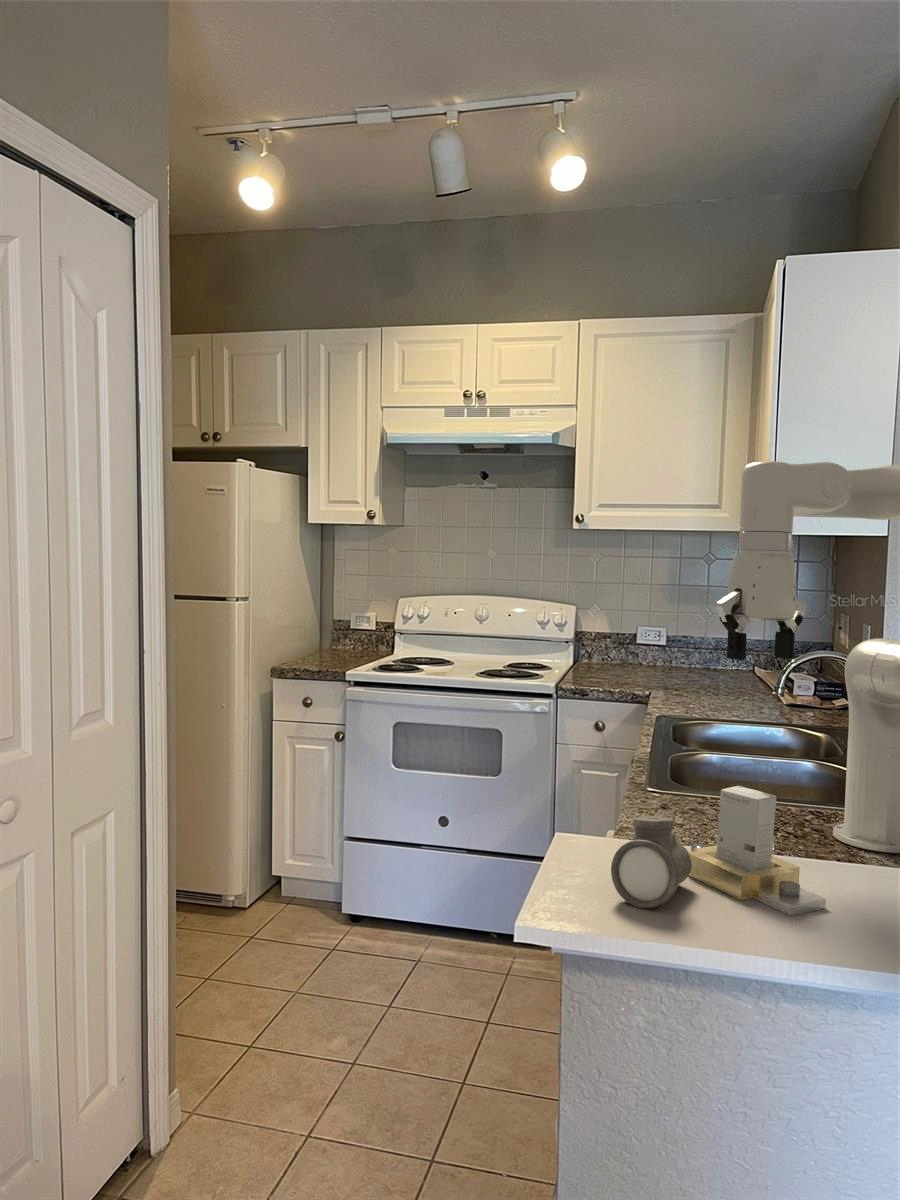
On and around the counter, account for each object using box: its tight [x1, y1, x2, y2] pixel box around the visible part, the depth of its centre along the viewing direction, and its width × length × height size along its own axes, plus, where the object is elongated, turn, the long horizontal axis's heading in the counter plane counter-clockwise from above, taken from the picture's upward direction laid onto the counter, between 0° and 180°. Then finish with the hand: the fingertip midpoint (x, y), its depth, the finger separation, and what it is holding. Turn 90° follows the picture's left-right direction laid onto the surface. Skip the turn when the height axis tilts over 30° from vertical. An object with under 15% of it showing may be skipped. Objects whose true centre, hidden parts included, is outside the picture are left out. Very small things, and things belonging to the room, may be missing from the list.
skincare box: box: [716, 785, 777, 872], centre depth 117 cm, size 6×4×12 cm
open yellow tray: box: [685, 843, 827, 916], centre depth 117 cm, size 10×22×3 cm, turn 26°
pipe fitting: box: [610, 815, 692, 910], centre depth 111 cm, size 12×8×10 cm
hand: (760, 658), depth 133 cm, fingers open, 9 cm apart
